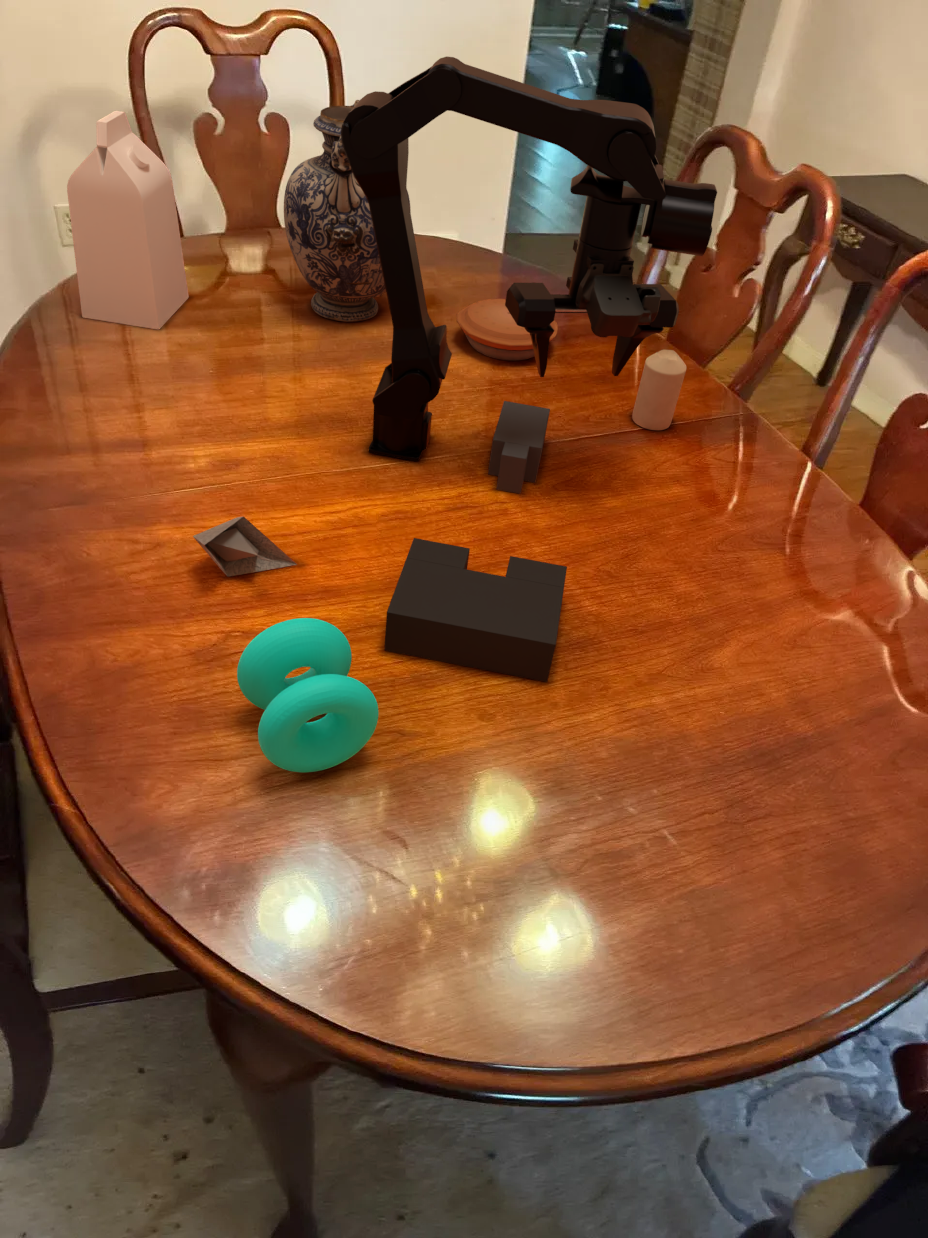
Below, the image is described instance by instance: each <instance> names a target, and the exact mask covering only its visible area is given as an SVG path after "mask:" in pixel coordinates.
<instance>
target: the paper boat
mask: <svg viewBox="0 0 928 1238" xmlns="http://www.w3.org/2000/svg"><path fill="white" fill-rule="evenodd" d="M192 537H193V538H194V540H195V541H196V542H197V543H198V544H199V546H200V547H201V548H202V549H203V550H204V551H205V553H206V554H207V555H208V556H209V557H210V559H211V560H212V562H214V563H215V564H216V565H217V567H218V568H219V570H221V571H222V573H224V575H225V576H226V577H227V578H229V577H234V576H240V575H247V574H251V573H258V572H264V571H268V570H269V571H270V570H274V569H282V568H286V567H292V566H297V565H298V564H297V562H295V561H294V560H293V559H292V558H291V557H290V556H289V555H287V554H286V553H285V552H284V551H283V550H282V549H281V548H280V547H279V546H278V545H276V544H275V543H274V542H273V541H272V540H271V539H270V538H268V536H267V535H265V534H264V533H263V532H262V531H261V530H259V528H257V527H256V526H255V525H254V524H253V523H251V521H250V520H249V519H247V518H246V517H245V516H237V517H235V518H232V519H230V520H227V521H225V522H223V523H221V524H218V525H215V526H213V527H210V528H208V529H206V530H204V531H201V532H199V533H197V534H194V535H192Z"/></svg>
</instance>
